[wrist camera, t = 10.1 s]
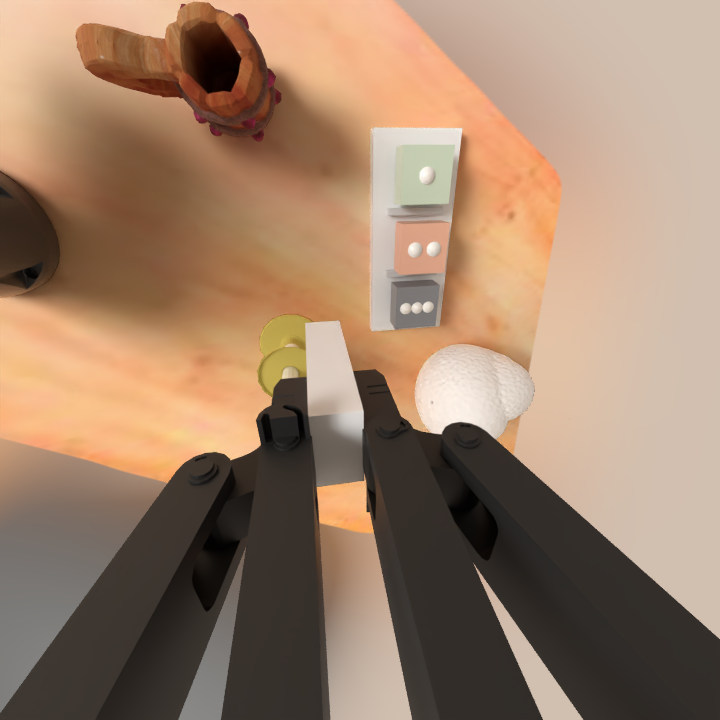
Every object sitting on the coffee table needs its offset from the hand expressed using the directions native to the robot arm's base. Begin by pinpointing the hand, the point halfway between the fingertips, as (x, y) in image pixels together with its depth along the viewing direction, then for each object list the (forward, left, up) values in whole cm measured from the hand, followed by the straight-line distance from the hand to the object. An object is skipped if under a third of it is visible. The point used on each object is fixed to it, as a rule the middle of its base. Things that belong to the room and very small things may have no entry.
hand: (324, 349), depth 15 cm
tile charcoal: (+14, -9, -31) cm, 35 cm away
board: (+14, -1, -34) cm, 37 cm away
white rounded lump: (+23, -23, -35) cm, 47 cm away
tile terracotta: (+14, -1, -30) cm, 33 cm away
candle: (-4, -16, -35) cm, 38 cm away
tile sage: (+14, +7, -31) cm, 35 cm away
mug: (-9, +15, -35) cm, 39 cm away
